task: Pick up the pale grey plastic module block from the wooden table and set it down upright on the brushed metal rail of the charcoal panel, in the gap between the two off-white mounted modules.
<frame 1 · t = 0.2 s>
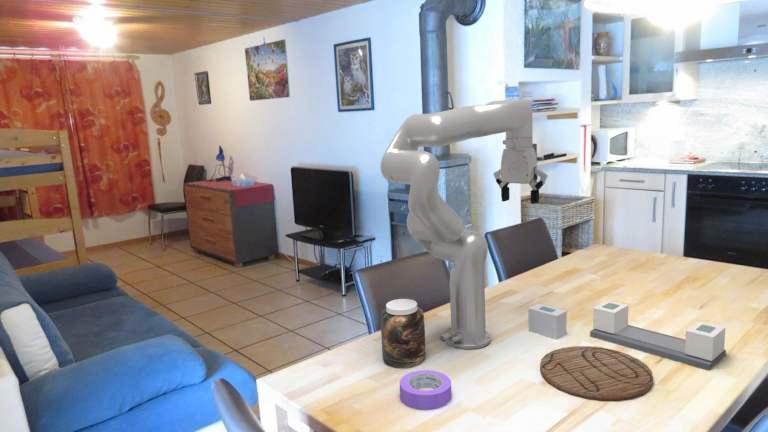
hand: (519, 201, 161), 36 cm above the table, tool pointing down, fingers open, 9 cm apart
jar: (404, 358, 143), on the table
mounted modules: (654, 327, 142), on the rail panel, point 5 cm above the table
trivet: (594, 376, 130), on the table
rail panel: (654, 345, 143), on the table
masking tape: (425, 397, 124), on the table
module block: (547, 332, 155), on the table
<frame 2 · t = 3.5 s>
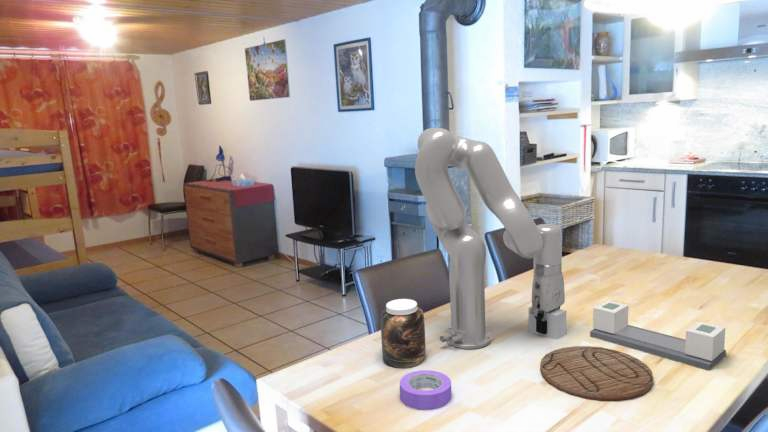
hand: (547, 329, 154), 1 cm above the table, tool pointing down, fingers closed on module block, 5 cm apart
module block: (547, 332, 155), on the table, touching gripper
everything else where it was.
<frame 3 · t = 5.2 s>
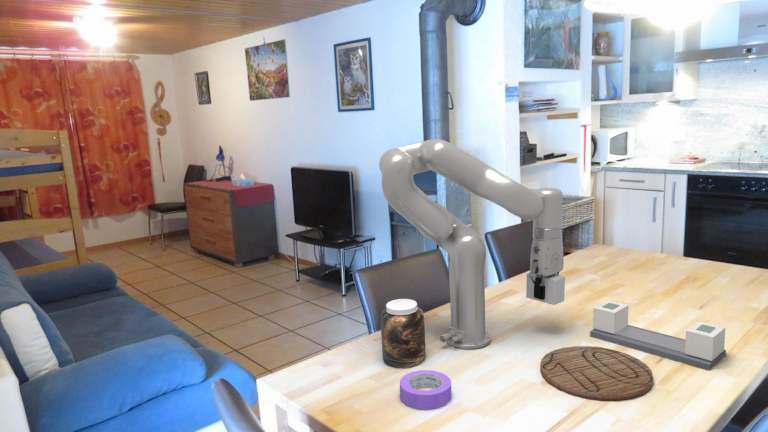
hand: (545, 295, 153), 11 cm above the table, tool pointing down, fingers closed on module block, 5 cm apart
module block: (544, 299, 153), point 10 cm above the table, touching gripper
everything else where it was.
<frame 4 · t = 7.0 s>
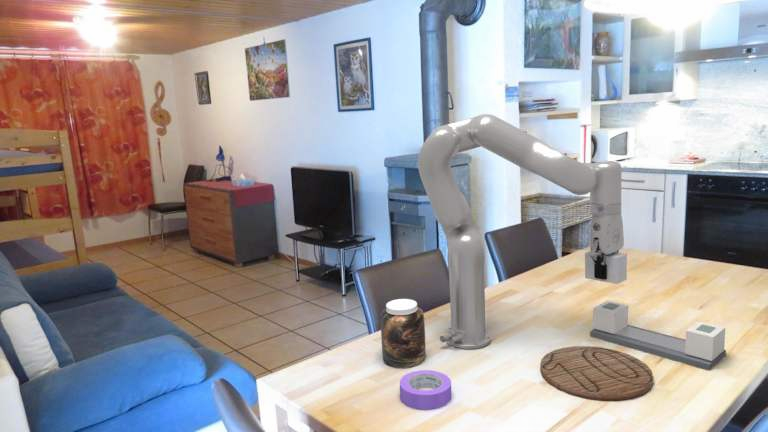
hand: (605, 275, 145), 18 cm above the table, tool pointing down, fingers closed on module block, 5 cm apart
module block: (605, 278, 145), point 17 cm above the table, touching gripper
everything else where it was.
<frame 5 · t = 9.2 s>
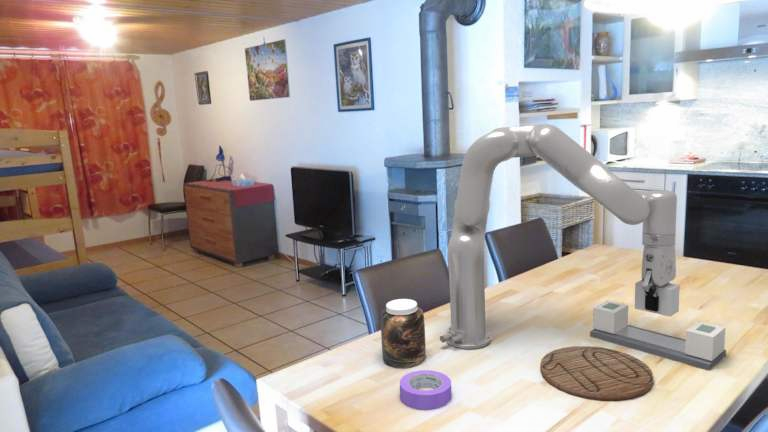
hand: (656, 306, 141), 11 cm above the table, tool pointing down, fingers closed on module block, 5 cm apart
module block: (656, 309, 141), point 10 cm above the table, touching gripper
everything else where it was.
when the fingers open (4 cm above the table, at t = 10.8 s): module block stays where it is, resting on rail panel.
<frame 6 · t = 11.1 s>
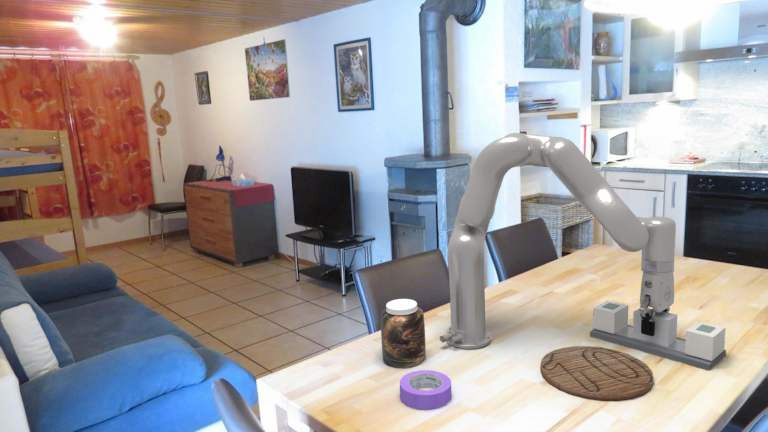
hand: (654, 329, 142), 4 cm above the table, tool pointing down, fingers open, 7 cm apart
module block: (654, 338, 143), point 2 cm above the table, touching rail panel
everything else where it was.
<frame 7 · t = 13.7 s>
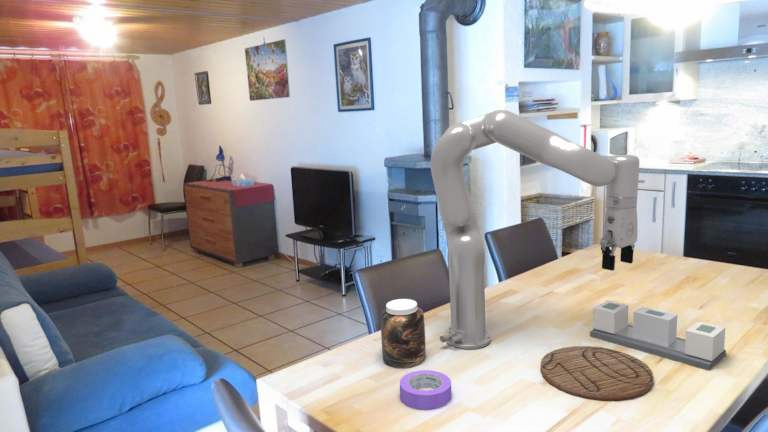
hand: (617, 265, 145), 21 cm above the table, tool pointing down, fingers open, 9 cm apart
nothing on the table moved.
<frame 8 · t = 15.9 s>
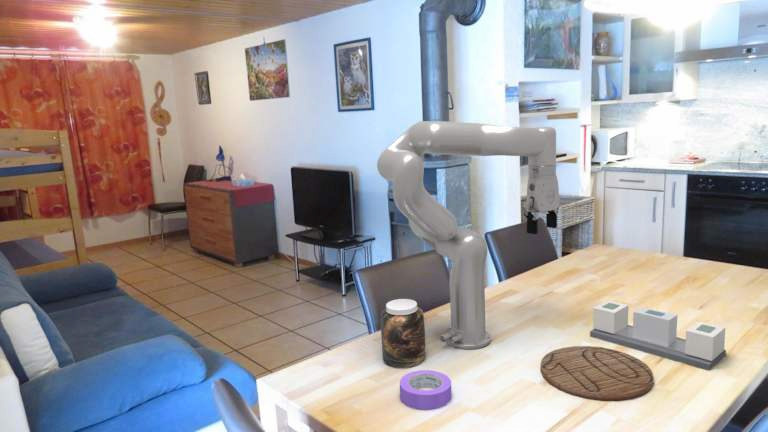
hand: (542, 230, 156), 28 cm above the table, tool pointing down, fingers open, 9 cm apart
nothing on the table moved.
at the end: module block inside the target area on the rail panel (0.1 cm from its centre), point 1.9 cm above the rail panel's base; module block tilted 0°; the gripper is holding nothing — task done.
